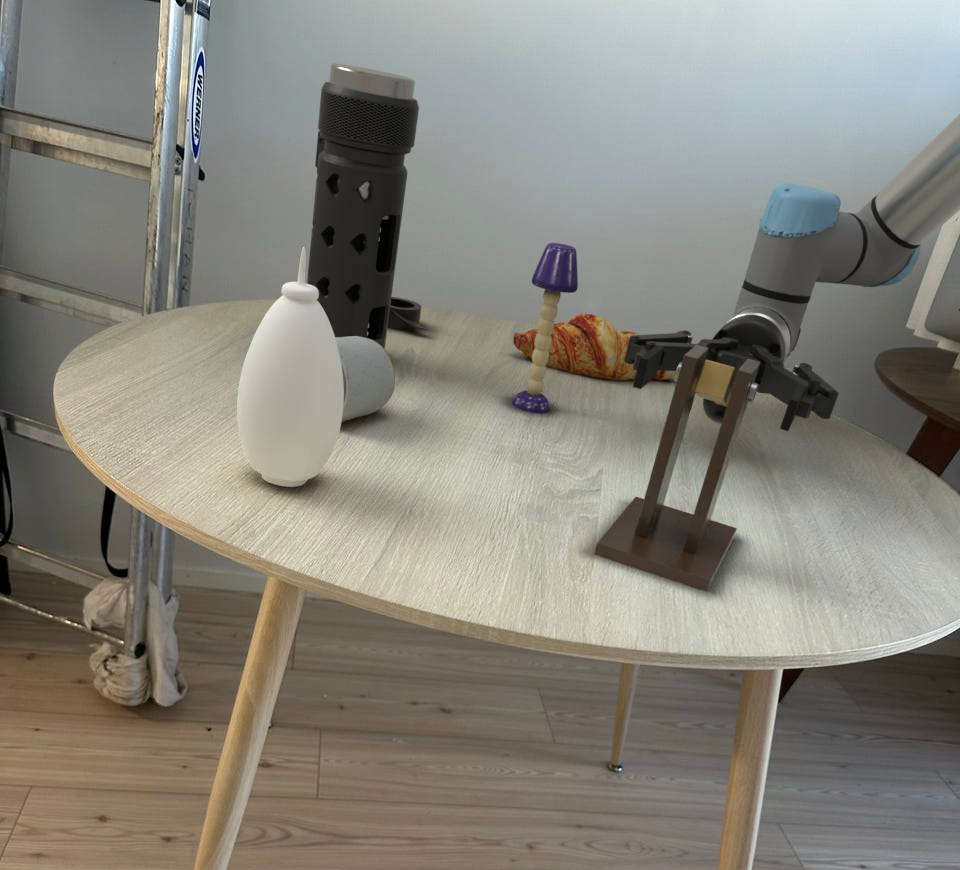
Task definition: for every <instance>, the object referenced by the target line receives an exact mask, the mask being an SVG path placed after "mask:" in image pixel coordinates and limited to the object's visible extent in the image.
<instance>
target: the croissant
mask: <svg viewBox="0 0 960 870" xmlns="http://www.w3.org/2000/svg"><path fill="white" fill-rule="evenodd" d="M537 334H538V330H537V328H533V329H530V330H528V331H526V332H523V333H522V332H514V333H513V338H512V339H513V345H514V347H515V348H516V349H517V350H518V351H520V352H522V354H524V355H525V357H527V358H530V359H532V354H533V351H534V349H535V344H534V343H535V337H536V335H537ZM632 335H639V333H638V332H634V331H628V330H624V329H621V332H618V330H617V329H616V328H615V326H614V323H612V322H611V321H610V320H609V319H607V318H605V317H602V316H599V315H597V314H592V313H582V312H581V313H579V314H577V315H576V316H575V317H573V318H572V317H571V318H570V319H569V321H568V322H567V323H566V322H562V321H561V322H557V323H554V330H553V333H552V334H551V339H552V341H551V346H550V348H549V350H548V352H549V359H548V362H547V364H546V367H548V368H551V369H556V370H561V371H566V372H568V373H570V374H573V375H580V376H586V377H587V376H588V377H591V378H599V379H603V380H612V381H613V380H614V381H628V380H633V381H634V380H635V376H636V373H637V370H634V369H633V366H634V364H628V363H626V362H625V361H624V359H625V355H626V351H627V347H628V343H629V339H630V336H632ZM675 373H676V371H658V372H657V375H656V376H655V377H654V378H653V379H652V380H656V381H666V380H670V379H672V378H674V377H675Z"/></svg>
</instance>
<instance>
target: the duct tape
mask: <svg viewBox="0 0 960 870" xmlns="http://www.w3.org/2000/svg"><path fill="white" fill-rule="evenodd" d="M421 314H422V305H421V304H420V303H418V302H415V301H414V300H410V299H407V298H401V297H396V296H391V304H390V312H389V319H388V327H387V329H391V330H397V331H407V332H408V331H409V332H410V331H416V330H418V329H419V330H422V331H423V330H424V331H427V328H425V327H423V326H421V324H420V320H421Z"/></svg>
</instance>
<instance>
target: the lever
mask: <svg viewBox="0 0 960 870" xmlns="http://www.w3.org/2000/svg"><path fill="white" fill-rule="evenodd" d="M735 377H736V371H735V368H734V367H731V366H728V365H724V364H720V363H717V362H713V361H710V360H705V363H704V366H703V369H702V372H701V375H700V378H699V381H698V384H697V387H696V390H695V392H696V394H695V395H697V397H699V398H701V399H702V407H703V411H704V414H705V415H706V417H707V418H708V419H709V420H710V421H712V422H713V423H716V424H719V425H721V424H722V421H723V418H724V414H725V411H726V408H727V405H728V401H729V398H730V395H731V392H732V388H733V385H734V380H735Z"/></svg>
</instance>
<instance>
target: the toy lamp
mask: <svg viewBox="0 0 960 870" xmlns="http://www.w3.org/2000/svg"><path fill="white" fill-rule="evenodd" d="M577 253H578V252H577V249H576V247H574V246H572V245H568V244H564V243H560V242H549V243H548V244H546V246H545V248H544V250H543V252H542V255H541V256H540V259H539V260H538V263H537V265H536V268H535V271H534V273H533V275H532V278H531V284H532V285H533V286H535V287H537V288H540V289H543V290H544V291H543V296H542V299H543V300H542V301H543V303H542V304H541V306H540V312H539V313H540V314H539V315H540V318H539V320H538V323H537V326H536V327H537V328H536V329H537V330H538V334H537V335H536V337H535V343H534V344H535V349H534V351H533V354H532V358H531V361H532V363H531V365H530V367H529V378H528V381H527V384H526V390H523V391H520V392H518V393H517V394H516V395H515V396H514V397H513V398H512V400H511V405H512V406H513V407H514V408H516V409H518V410H521V411H523V412H526V413H527V412H528V413H532V414H547V413H549V412H550V411H551V405H550V402H549V399H548V398H547V397H546V396H545V395H544V394H543V393H542V392H543V389H544V379H545V377H546V374H547V366H546V364H547V362H548V359H549V352H548V350H549V348H550V346H551V341H552V339H551V334H552V333H553V330H554V324H555V319H556V317H557V315H558V304H559V303H560V300H561V295H562V293H567V294H571V293H572V294H573V293H576V292H577V291H578V287H579V280H578V275H579V274H578V273H579V272H578V254H577Z"/></svg>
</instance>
